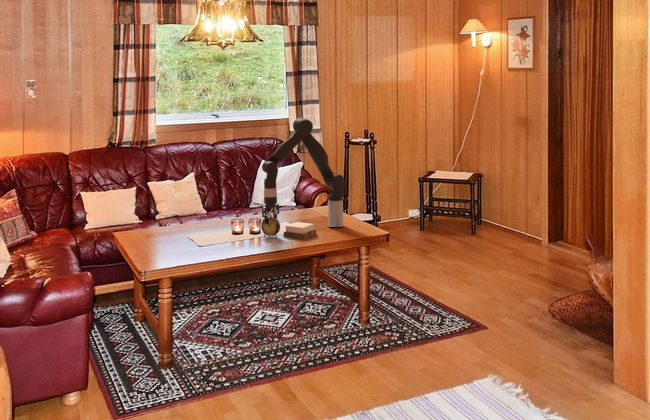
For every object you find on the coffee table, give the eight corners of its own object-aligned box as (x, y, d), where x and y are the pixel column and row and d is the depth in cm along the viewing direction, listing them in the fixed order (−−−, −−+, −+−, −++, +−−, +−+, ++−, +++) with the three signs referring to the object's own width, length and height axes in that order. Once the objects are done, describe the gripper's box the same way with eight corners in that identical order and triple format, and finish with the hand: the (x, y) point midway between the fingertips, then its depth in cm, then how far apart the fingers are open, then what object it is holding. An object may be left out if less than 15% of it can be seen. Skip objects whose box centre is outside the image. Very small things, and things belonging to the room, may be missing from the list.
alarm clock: (261, 237, 419) (260, 209, 416) (266, 235, 424) (265, 208, 420) (276, 238, 414) (276, 211, 411) (281, 236, 419) (281, 209, 415)
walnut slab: (296, 233, 431) (296, 227, 430) (316, 235, 424) (316, 229, 423) (283, 237, 419) (283, 231, 419) (303, 240, 412) (303, 234, 412)
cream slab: (297, 227, 430) (297, 221, 429) (314, 229, 424) (313, 223, 423) (285, 231, 420) (285, 225, 419) (302, 233, 413) (302, 227, 413)
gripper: (268, 198, 406) (269, 225, 409) (282, 194, 418) (283, 221, 421) (258, 196, 410) (258, 224, 413) (272, 193, 422) (272, 220, 425)
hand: (271, 222), depth 417 cm, fingers open, 8 cm apart
